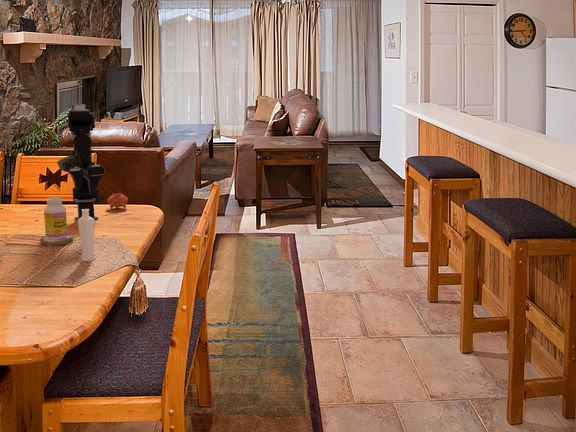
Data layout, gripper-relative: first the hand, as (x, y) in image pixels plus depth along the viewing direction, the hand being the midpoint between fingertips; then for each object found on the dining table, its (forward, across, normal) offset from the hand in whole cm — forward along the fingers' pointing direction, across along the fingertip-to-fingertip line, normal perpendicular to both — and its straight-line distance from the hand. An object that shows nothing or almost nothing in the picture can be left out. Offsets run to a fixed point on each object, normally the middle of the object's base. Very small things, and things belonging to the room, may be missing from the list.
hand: (85, 192), depth 220 cm
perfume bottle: (+13, +32, -17) cm, 39 cm away
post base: (+13, +8, -15) cm, 21 cm away
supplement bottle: (+12, +8, -15) cm, 21 cm away
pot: (+13, -22, +25) cm, 36 cm away
